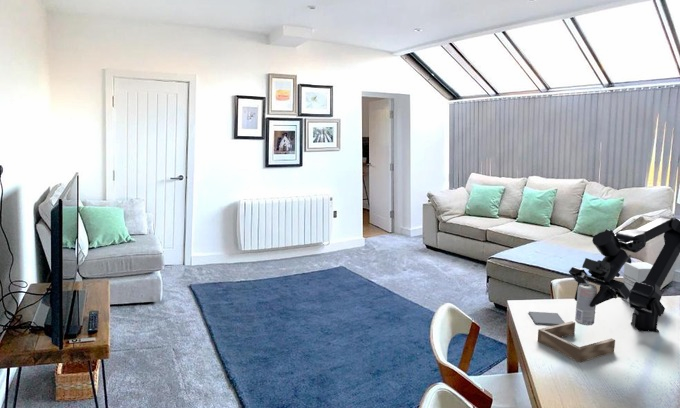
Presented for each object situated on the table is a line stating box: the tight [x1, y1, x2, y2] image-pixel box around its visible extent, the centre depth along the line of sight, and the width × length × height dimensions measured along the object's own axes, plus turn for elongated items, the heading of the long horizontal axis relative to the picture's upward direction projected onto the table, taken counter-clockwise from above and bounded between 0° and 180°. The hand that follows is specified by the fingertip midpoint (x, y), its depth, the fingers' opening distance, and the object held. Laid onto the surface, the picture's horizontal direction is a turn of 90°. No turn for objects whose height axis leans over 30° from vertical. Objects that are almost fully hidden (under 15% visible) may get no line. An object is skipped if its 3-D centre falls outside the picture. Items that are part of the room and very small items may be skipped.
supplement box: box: [620, 261, 653, 304], centre depth 188 cm, size 9×9×15 cm
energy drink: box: [574, 283, 598, 326], centre depth 153 cm, size 5×5×12 cm
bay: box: [537, 321, 616, 363], centre depth 151 cm, size 15×15×4 cm
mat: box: [528, 311, 566, 326], centre depth 173 cm, size 10×10×1 cm
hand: (582, 303), depth 152 cm, fingers closed on energy drink, 5 cm apart
